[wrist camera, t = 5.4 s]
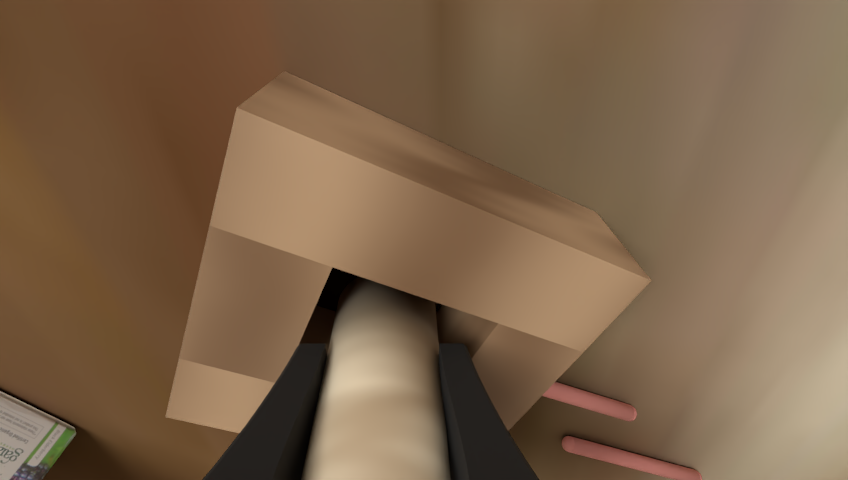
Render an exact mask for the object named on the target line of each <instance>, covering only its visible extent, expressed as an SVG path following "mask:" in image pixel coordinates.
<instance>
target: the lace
mask: <svg viewBox="0 0 848 480" xmlns="http://www.w3.org/2000/svg"><path fill="white" fill-rule="evenodd" d="M542 396H545V397H548V398H551V399H555V400H558V401H561V402H565V403H568V404H572V405H575V406H578V407H582V408H585V409H589V410H592V411H595V412H599V413H602V414H605V415H609V416H612V417H616V418H619V419H622V420H626V421H633V420H634V419H635V418H636V416H637V412H636V409H635V408H634V407H633V406H631V405H629V404H626V403H623V402H619V401H616V400H613V399H610V398H606V397H603V396H600V395H597V394H594V393H590V392H587V391H584V390H581V389H577V388H574V387H571V386H568V385H564V384H561V383H558V382H555V383H554V384H553V385H552V386H551V387H550V388H549V389H548V390H547V391H546V392H545V393H544V394H543V395H542ZM562 447H563V448H564V450H566V451H567V452H570V453H574V454H578V455H582V456H586V457H589V458H593V459H597V460H601V461H605V462H609V463H613V464H617V465H620V466H624V467H628V468H632V469H636V470H640V471H644V472H647V473H651V474H655V475H659V476H663V477H667V478H671V479H675V480H702V476H701V474H700V473H699V472H698V471H696V470H694V469H690V468H686V467H682V466H679V465H675V464H671V463H668V462H664V461H660V460H657V459H653V458H649V457H646V456H642V455H638V454H634V453H631V452H627V451H623V450H620V449H616V448H612V447H609V446H605V445H601V444H598V443H594V442H590V441H586V440H583V439H579V438H575V437H572V436H566V437H564V438H563V439H562Z"/></svg>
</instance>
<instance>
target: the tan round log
mask: <svg viewBox="0 0 848 480" xmlns="http://www.w3.org/2000/svg"><path fill="white" fill-rule="evenodd" d="M438 356H439V342H438V331H437V320H436V308H435V302H434V301H431V300H428V299H425V298H422V297H419V296H416V295H413V294H410V293H407V292H404V291H401V290H398V289H395V288H392V287H389V286H386V285H383V284H380V283H377V282H375V281H372V280H369V279H366V278H363V277H360V276H359V277H357V278H356V279H354V280H353V281H351V282H350V283H349V284H348V285H347V286H346V287H345V288H344V290H343V291H342V293H341V295H340V297H339V300H338V305H337V310H336V314H335V319H334V324H333V329H332V334H331V338H330V343H329V348H328V353H327V360H326V364H325V369H324V374H323V379H322V384H321V389H320V393H319V398H318V402H317V407H316V411H315V416H314V420H313V425H312V430H311V434H310V439H309V444H308V449H307V454H306V458H305V463H304V468H303V473H302V478H301V480H451V477H450V466H449V455H448V443H447V432H446V421H445V414H444V406H443V398H442V391H441V381H440V369H439V357H438Z"/></svg>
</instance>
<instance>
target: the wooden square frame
mask: <svg viewBox="0 0 848 480" xmlns="http://www.w3.org/2000/svg"><path fill="white" fill-rule="evenodd" d="M332 267H333V268H336V269H339V270H342V271H345V272H348V273H351V274H354V275H357V276H360V277H363V278H366V279H369V280H372V281H375V282H377V283H380V284H383V285H386V286H389V287H392V288H395V289H398V290H401V291H404V292H407V293H410V294H413V295H416V296H419V297H422V298H425V299H428V300H431V301H434V302H436V303H439V304H442V306H441V308H440V309H439V311H438V313H437V314H436V320H437V331H438V342H439V344H440V343H463V344H464V345H465V346H467V349H468V351H469V354H470V357H471V359H472V362H473V364H474V366H475V369H476V371H477V373H478V375H479V377H480V379H481V381H482V383H483V386H484V388H485V390H486V392H487V394H488V396H489V397H490V399H491V401H492V403H493V405H494V407H495V409H496V410H497V412H498V414H499V416H500V418H501V419H502V421H503V423H504V425H505V426H506V428H507V430H508V431H509V430H510V429H511V428H512V427H513V426H514V425H515V424H516V423H517V421H518V420H519V419H520V418H521V417H522V416H523V415H524V414H525V413H526V412H527V411H528V410H529V409H530V408H531V407H532V406H533V405H534V404H535V403H536V401H537V400H538V399H539V398H540V397H541V396H542V395H543V394H544V393H545V392H546V391H547V390H548V389H549V388H550V387H551V386H552V385H553V384H554V383H555V381H556V380H557V379H558V378H559V377H560V376H561V375H562V374H563V373H564V372H565V371H566V370H567V369H568V368H569V367H570V366H571V365H572V364H573V363H574V361H575V360H576V359H577V358H578V357H579V356H580V355H581V354H582V353H583V352H584V351H585V350H586V349H587V348H588V347H589V346H590V345H591V344H592V343H593V341H594V340H595V339H596V338H597V337H598V336H599V335H600V334H601V333H602V332H603V331H604V330H605V329H606V328H607V327H608V326H609V325H610V324H611V323H612V321H613V320H614V319H615V318H616V317H617V316H618V315H619V314H620V313H621V312H622V311H623V310H624V309H625V308H626V307H627V306H628V305H629V304H630V303H631V301H632V300H633V299H634V298H635V297H636V296H637V295H638V294H639V293H640V292H641V291H642V290H643V289H644V288H645V287H646V286H647V285H648V284H649V283H650V281H651V279H650V278H649V277H648V276H647V274H646V273H645V272H644V271H643V270H642V268H641V267H640V266H639V265H638V263H637V262H636V261H635V260H634V258H633V257H632V256H631V255H630V253H629V252H628V251H627V250H626V249H625V247H624V246H623V245H622V244H621V242H620V241H619V240H618V239H617V237H616V236H615V235H614V234H613V233H612V231H611V230H610V229H609V228H608V226H607V225H606V224H605V223H604V221H603V220H602V219H601V218H600V216H599V215H598V214H597V213H596V212H594V211H592V210H590V209H588V208H586V207H583V206H581V205H579V204H577V203H575V202H572V201H570V200H568V199H566V198H563V197H561V196H559V195H557V194H555V193H552V192H550V191H548V190H546V189H544V188H541V187H539V186H537V185H535V184H533V183H530V182H528V181H526V180H524V179H522V178H519V177H517V176H515V175H513V174H510V173H508V172H506V171H504V170H502V169H499V168H497V167H495V166H493V165H491V164H488V163H486V162H484V161H482V160H480V159H477V158H475V157H473V156H471V155H468V154H466V153H464V152H462V151H460V150H457V149H455V148H453V147H451V146H449V145H446V144H444V143H442V142H440V141H438V140H435V139H433V138H431V137H429V136H427V135H424V134H422V133H420V132H418V131H415V130H413V129H411V128H409V127H407V126H404V125H402V124H400V123H398V122H396V121H393V120H391V119H389V118H387V117H385V116H382V115H380V114H378V113H376V112H374V111H371V110H369V109H367V108H365V107H362V106H360V105H358V104H356V103H354V102H351V101H349V100H347V99H345V98H343V97H340V96H338V95H336V94H334V93H332V92H329V91H327V90H325V89H323V88H321V87H318V86H316V85H314V84H312V83H309V82H307V81H305V80H303V79H301V78H298V77H296V76H294V75H292V74H290V73H287V72H285V71H284V72H282V73H281V74H280V75H279V76H277V77H276V78H275V79H273V80H272V81H271V82H269V83H268V84H267V85H266V86H264V87H263V88H262V89H260V90H259V91H258V92H256V93H255V94H254V95H253V96H251V97H250V98H249V99H247V100H246V101H245V102H243V103H242V104H241V105H240V106H238V107H237V109H236V113H235V118H234V122H233V126H232V131H231V135H230V139H229V144H228V148H227V152H226V157H225V161H224V165H223V170H222V174H221V178H220V183H219V187H218V191H217V196H216V200H215V204H214V209H213V213H212V217H211V222H210V226H209V230H208V235H207V239H206V243H205V248H204V252H203V256H202V261H201V265H200V269H199V274H198V278H197V282H196V287H195V291H194V295H193V300H192V304H191V308H190V313H189V317H188V321H187V326H186V330H185V334H184V339H183V343H182V347H181V352H180V356H179V360H178V365H177V369H176V373H175V378H174V382H173V386H172V391H171V395H170V399H169V404H168V408H167V412H166V417H167V418H172V419H177V420H181V421H186V422H190V423H195V424H200V425H204V426H209V427H213V428H218V429H223V430H227V431H232V432H236V433H240V432H241V431H242V429H243V428H244V427H245V425H246V424H247V423H248V421H249V420H250V419H251V417H252V416H253V414H254V413H255V412H256V410H257V409H258V407H259V406H260V404H261V403H262V402H263V400H264V399H265V397H266V396H267V394H268V393H269V391H270V390H271V388H272V387H273V385H274V384H275V382H276V381H277V379H278V378H279V376H280V375H281V373H282V371H283V370H284V368H285V367H286V365H287V363H288V362H289V360H290V358H291V357H292V355H293V353H294V351H295V350H296V348H297V347H298V346H299V345H300V344H325V345H326V353H328V348H329V343H330V338H331V334H332V329H333V324H334V319H335V314H336V312H335V311H332V310H329V309H326V308H322V307H319V306H316V304H317V302H318V299H319V297H320V295H321V292H322V290H323V288H324V286H325V283H326V281H327V279H328V276H329V274H330V272H331V269H332Z"/></svg>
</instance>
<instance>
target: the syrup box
mask: <svg viewBox="0 0 848 480" xmlns="http://www.w3.org/2000/svg"><path fill="white" fill-rule="evenodd" d="M75 435H76V431H75V428H74V427H73V426H71V425H69V424H67V423H65V422H63V421H61V420H59V419H57V418H55V417H53V416H51V415H49V414H47V413H45V412H43V411H40V410H38V409H36V408H34V407H32V406H31V405H28V404H26V403H24V402H22V401H20V400H18V399H16V398H14V397H12V396H10V395H8V394H6V393H3V392H1V391H0V480H42V479H43V478H44V476H45V475H46V474H47V473H48V471H49V470H50V468H51V467H52V466H53V464H54V463H55V462H56V460H57V459H58V458H59V456H60V455H61V454H62V452H63V451H64V450H65V448H66V447H67V446H68V444H69V443H70V442H71V441H72V439H73V438H74V437H75Z"/></svg>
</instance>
